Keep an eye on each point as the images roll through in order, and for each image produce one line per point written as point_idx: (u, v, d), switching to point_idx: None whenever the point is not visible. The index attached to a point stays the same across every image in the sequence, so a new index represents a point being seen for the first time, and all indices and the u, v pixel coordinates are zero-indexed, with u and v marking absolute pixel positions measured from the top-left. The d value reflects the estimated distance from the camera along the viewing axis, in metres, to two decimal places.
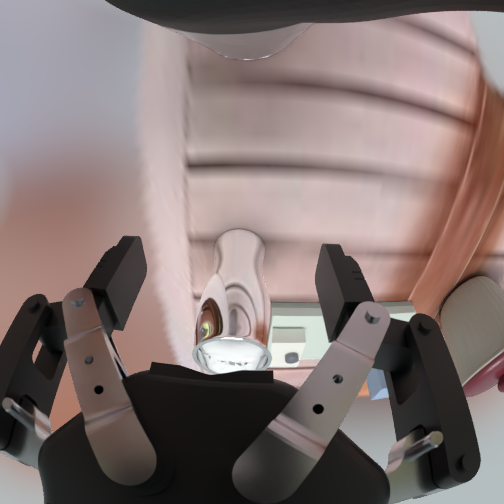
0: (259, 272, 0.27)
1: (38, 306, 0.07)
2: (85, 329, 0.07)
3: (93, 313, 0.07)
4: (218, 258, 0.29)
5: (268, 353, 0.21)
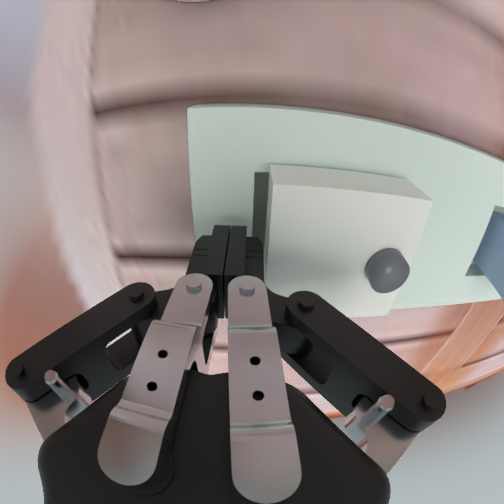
0: None
1: (144, 296, 0.08)
2: (183, 319, 0.07)
3: (201, 308, 0.08)
4: None
5: None
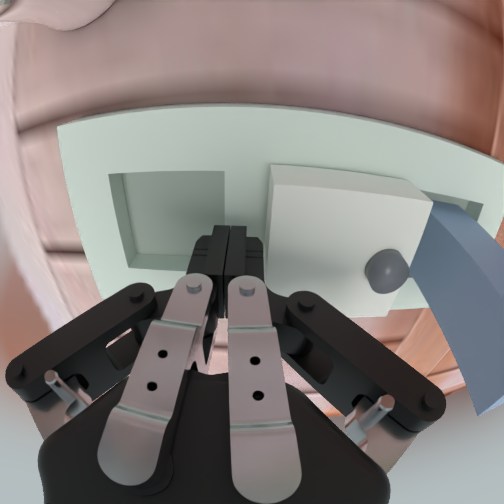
0: None
1: (144, 296, 0.08)
2: (183, 319, 0.07)
3: (201, 308, 0.08)
4: None
5: None
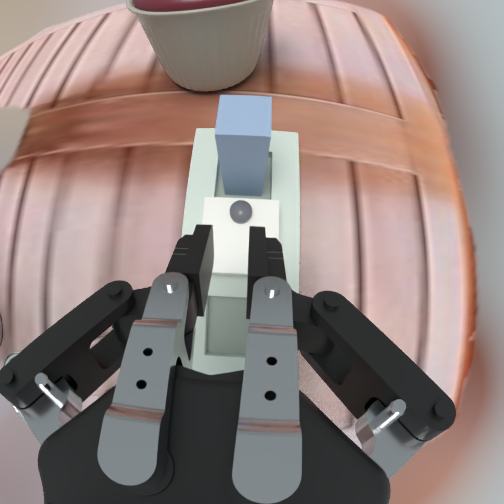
0: None
1: (122, 293, 0.08)
2: (163, 317, 0.07)
3: (179, 304, 0.08)
4: None
5: (13, 353, 0.13)
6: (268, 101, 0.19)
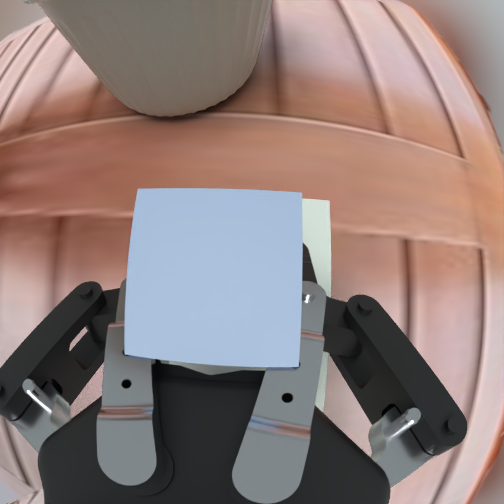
0: None
1: (92, 294, 0.08)
2: None
3: None
4: None
5: None
6: (292, 213, 0.06)
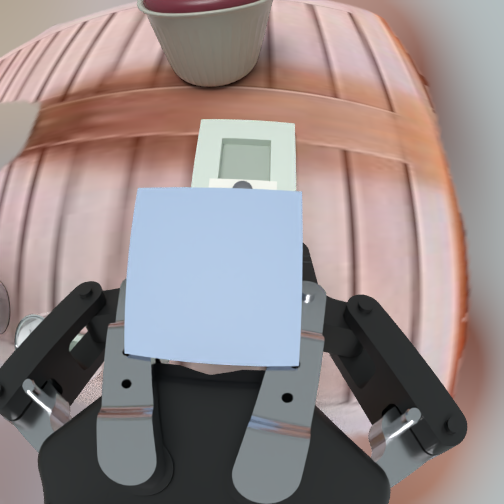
0: None
1: (92, 294, 0.08)
2: None
3: None
4: None
5: (27, 316, 0.15)
6: (292, 212, 0.06)
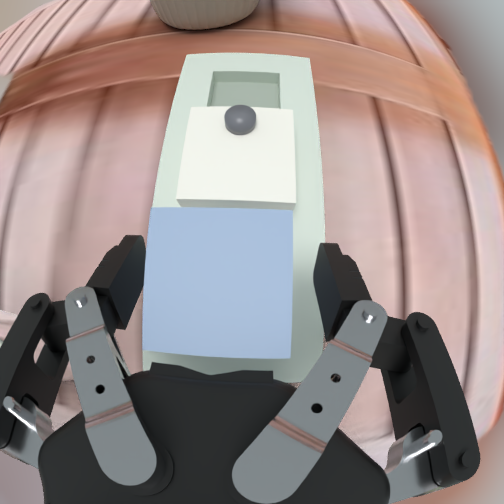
0: None
1: (41, 305, 0.07)
2: (87, 328, 0.07)
3: (96, 312, 0.07)
4: None
5: None
6: (284, 228, 0.07)
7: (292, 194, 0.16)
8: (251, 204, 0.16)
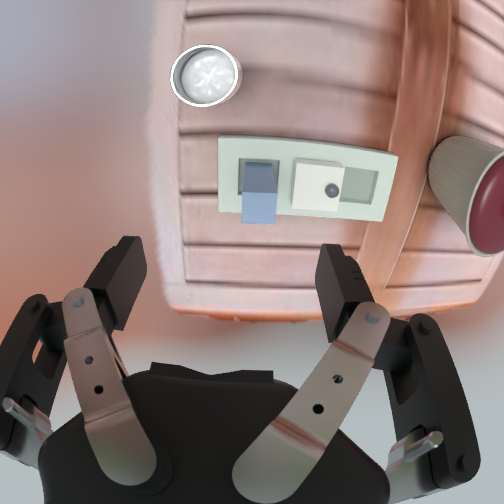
0: None
1: (38, 306, 0.07)
2: (85, 329, 0.07)
3: (93, 313, 0.07)
4: None
5: (234, 62, 0.21)
6: (270, 222, 0.33)
7: (295, 207, 0.40)
8: (293, 190, 0.39)
